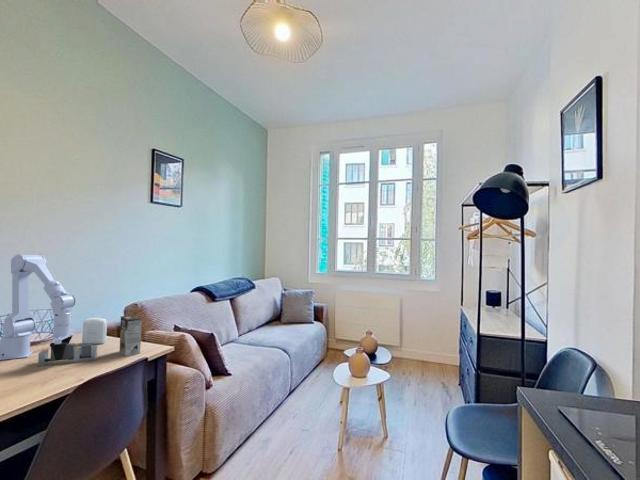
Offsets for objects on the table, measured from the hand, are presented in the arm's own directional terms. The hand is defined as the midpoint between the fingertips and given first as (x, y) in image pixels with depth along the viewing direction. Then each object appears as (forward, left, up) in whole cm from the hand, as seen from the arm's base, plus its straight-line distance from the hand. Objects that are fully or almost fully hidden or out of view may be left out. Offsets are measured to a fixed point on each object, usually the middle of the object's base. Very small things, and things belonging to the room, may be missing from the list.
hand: (60, 356), depth 137 cm
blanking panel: (+1, 0, -2) cm, 2 cm away
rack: (+3, 0, -2) cm, 3 cm away
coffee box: (+25, +3, -2) cm, 25 cm away
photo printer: (+9, +25, -2) cm, 27 cm away
